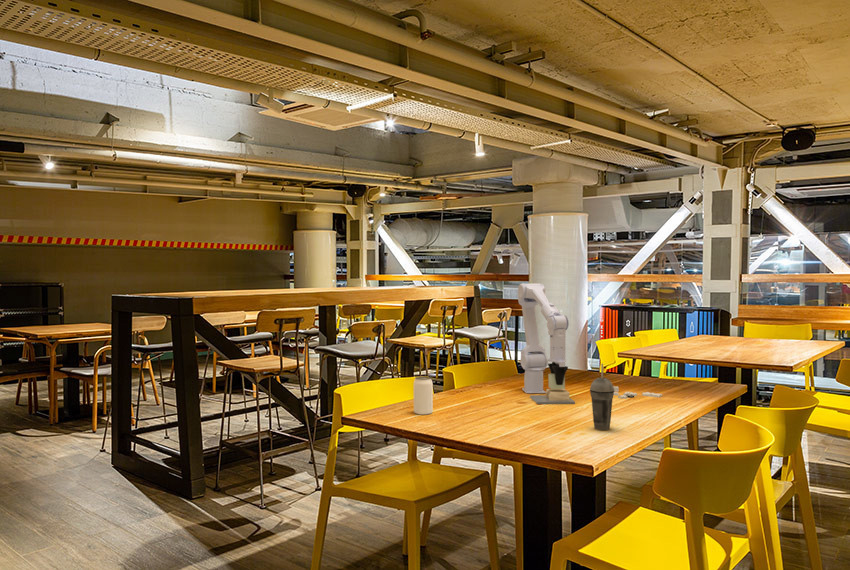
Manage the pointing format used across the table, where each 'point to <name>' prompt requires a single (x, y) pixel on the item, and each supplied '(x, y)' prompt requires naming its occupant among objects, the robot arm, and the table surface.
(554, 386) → the sage block
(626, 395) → the architectural model
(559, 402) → the gray board
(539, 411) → the table surface
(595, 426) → the beverage cup
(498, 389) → the table surface
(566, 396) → the birch plinth
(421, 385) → the can
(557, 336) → the robot arm
